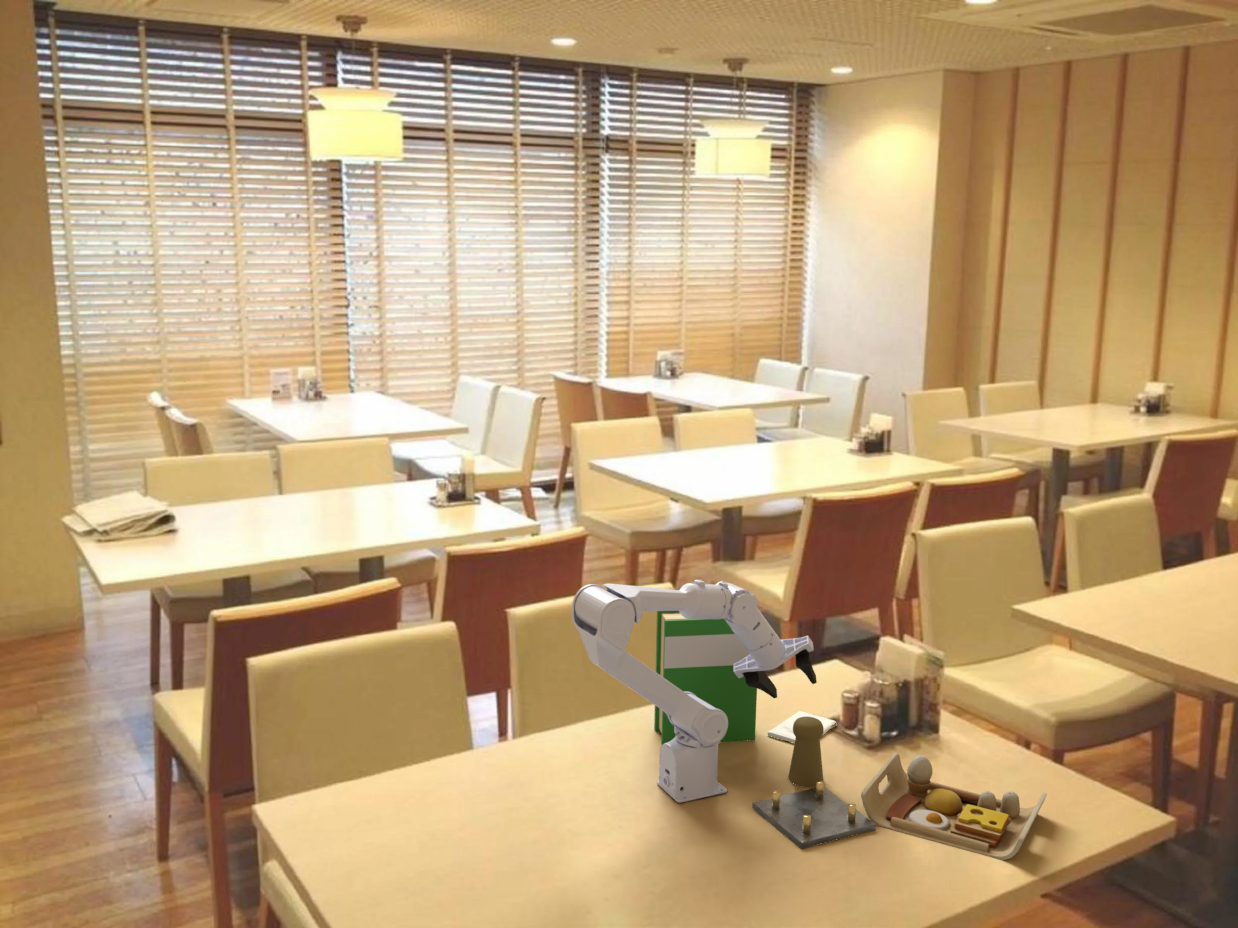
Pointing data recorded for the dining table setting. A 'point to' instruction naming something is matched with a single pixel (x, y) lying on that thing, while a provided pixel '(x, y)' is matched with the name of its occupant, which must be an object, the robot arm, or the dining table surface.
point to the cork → (806, 752)
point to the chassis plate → (813, 816)
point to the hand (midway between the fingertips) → (794, 686)
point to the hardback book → (704, 671)
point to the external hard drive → (786, 727)
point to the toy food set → (947, 810)
